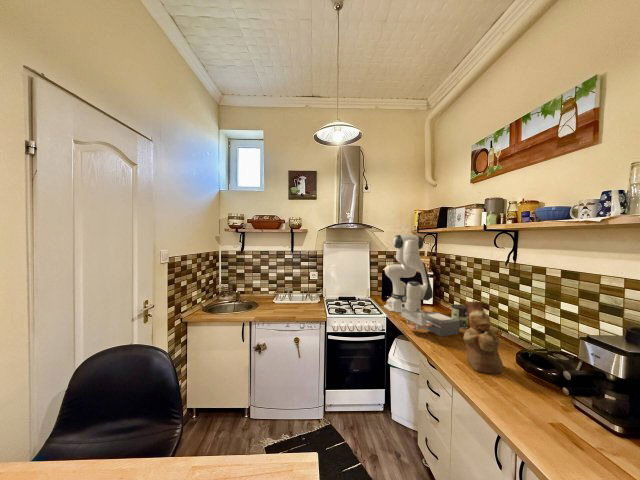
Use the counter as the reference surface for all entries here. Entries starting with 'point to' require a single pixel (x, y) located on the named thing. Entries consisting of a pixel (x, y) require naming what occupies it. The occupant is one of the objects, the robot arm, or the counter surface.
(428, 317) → the dispenser
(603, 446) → the counter surface
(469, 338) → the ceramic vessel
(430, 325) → the ticket
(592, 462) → the counter surface
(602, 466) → the counter surface
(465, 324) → the coffee can
